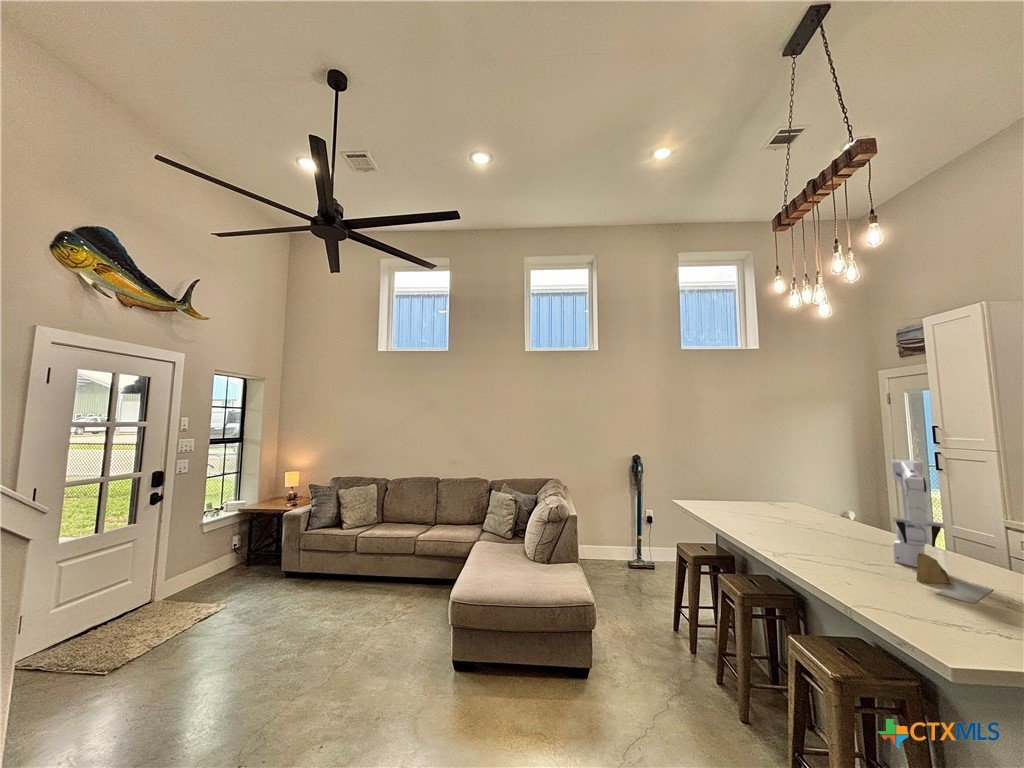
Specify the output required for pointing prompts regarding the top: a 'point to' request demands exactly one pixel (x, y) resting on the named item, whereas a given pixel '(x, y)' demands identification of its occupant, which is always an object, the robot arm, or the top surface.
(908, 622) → the top surface
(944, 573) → the rock
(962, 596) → the mat
